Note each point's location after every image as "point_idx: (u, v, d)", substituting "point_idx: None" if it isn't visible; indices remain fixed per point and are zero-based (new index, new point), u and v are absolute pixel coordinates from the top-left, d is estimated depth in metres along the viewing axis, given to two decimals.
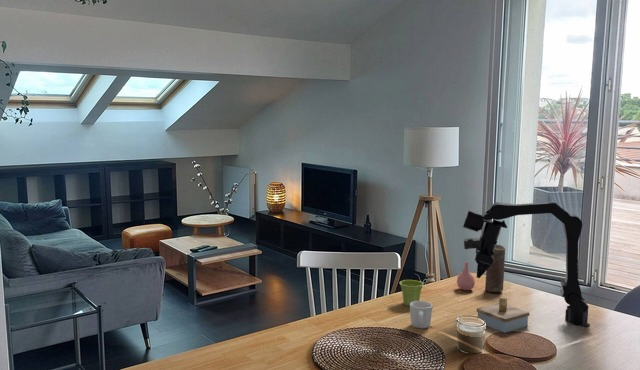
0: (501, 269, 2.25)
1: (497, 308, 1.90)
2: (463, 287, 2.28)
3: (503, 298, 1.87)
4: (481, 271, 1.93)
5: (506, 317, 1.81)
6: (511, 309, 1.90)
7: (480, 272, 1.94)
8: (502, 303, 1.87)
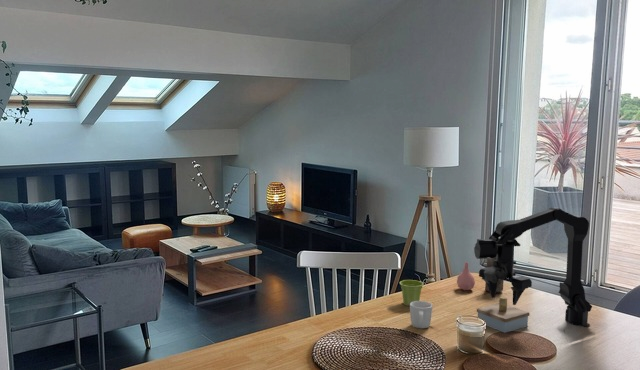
0: None
1: (497, 308, 1.90)
2: (463, 287, 2.28)
3: (503, 298, 1.87)
4: (518, 297, 1.83)
5: (506, 317, 1.81)
6: (511, 309, 1.90)
7: (516, 299, 1.83)
8: (502, 303, 1.87)
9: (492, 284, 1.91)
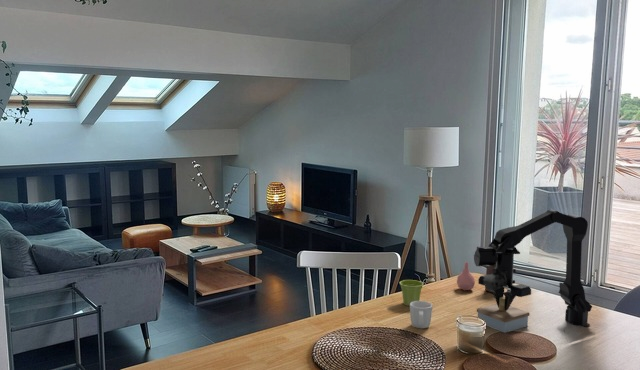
0: None
1: (497, 308, 1.90)
2: (463, 287, 2.28)
3: (503, 298, 1.87)
4: (510, 302, 1.86)
5: (506, 317, 1.81)
6: (511, 309, 1.90)
7: (508, 304, 1.86)
8: (502, 303, 1.87)
9: (498, 293, 1.89)
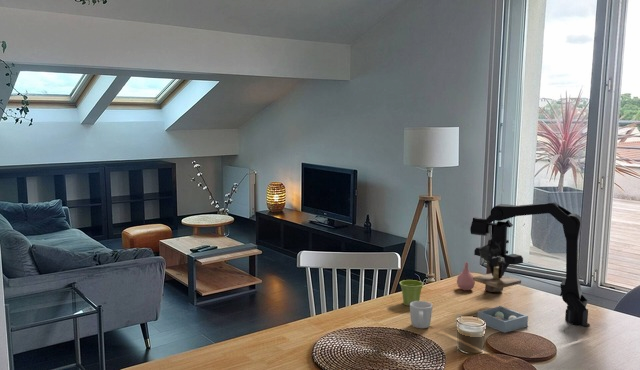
0: None
1: (491, 277, 2.06)
2: (463, 287, 2.28)
3: (497, 267, 2.03)
4: (503, 270, 2.02)
5: (500, 284, 1.97)
6: (504, 277, 2.05)
7: (502, 272, 2.02)
8: (496, 272, 2.02)
9: (492, 263, 2.04)
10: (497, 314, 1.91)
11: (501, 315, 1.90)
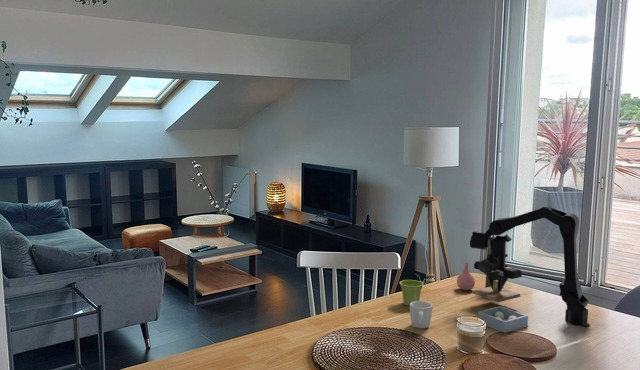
0: None
1: (491, 290, 2.09)
2: (463, 287, 2.28)
3: (496, 281, 2.06)
4: (503, 284, 2.04)
5: (499, 297, 2.00)
6: (504, 291, 2.08)
7: (501, 286, 2.05)
8: (495, 285, 2.05)
9: (492, 277, 2.07)
10: (497, 314, 1.91)
11: (501, 315, 1.90)
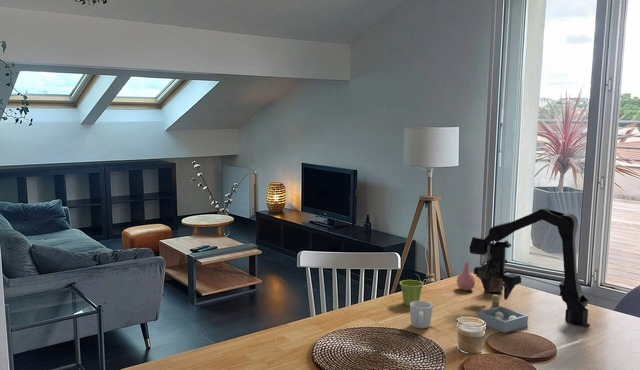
0: None
1: None
2: (463, 287, 2.28)
3: (496, 295, 2.06)
4: (509, 292, 2.02)
5: None
6: None
7: (507, 294, 2.02)
8: (494, 300, 2.06)
9: (485, 280, 2.10)
10: (497, 314, 1.91)
11: (501, 315, 1.90)
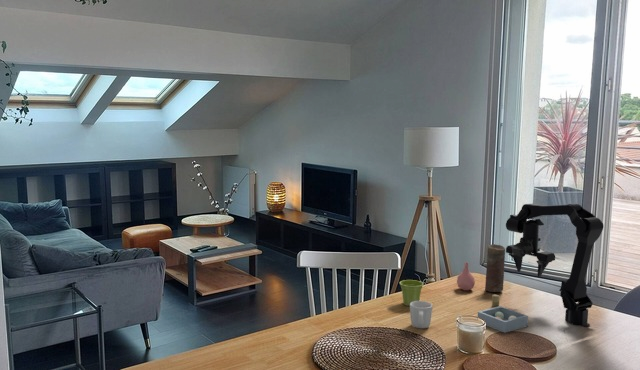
0: (501, 269, 2.25)
1: None
2: (463, 287, 2.28)
3: (496, 295, 2.06)
4: (542, 269, 2.04)
5: None
6: None
7: (541, 271, 2.04)
8: (494, 300, 2.06)
9: (518, 259, 2.12)
10: (497, 314, 1.91)
11: (501, 315, 1.90)
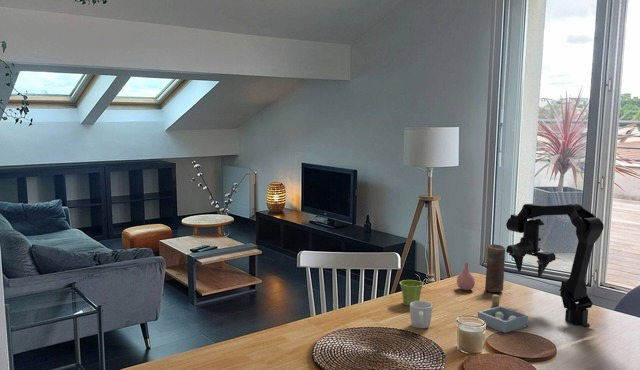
0: (501, 269, 2.25)
1: None
2: (463, 287, 2.28)
3: (496, 295, 2.06)
4: (543, 269, 2.04)
5: None
6: None
7: (541, 271, 2.04)
8: (494, 300, 2.06)
9: (518, 259, 2.12)
10: (497, 314, 1.91)
11: (501, 315, 1.90)
